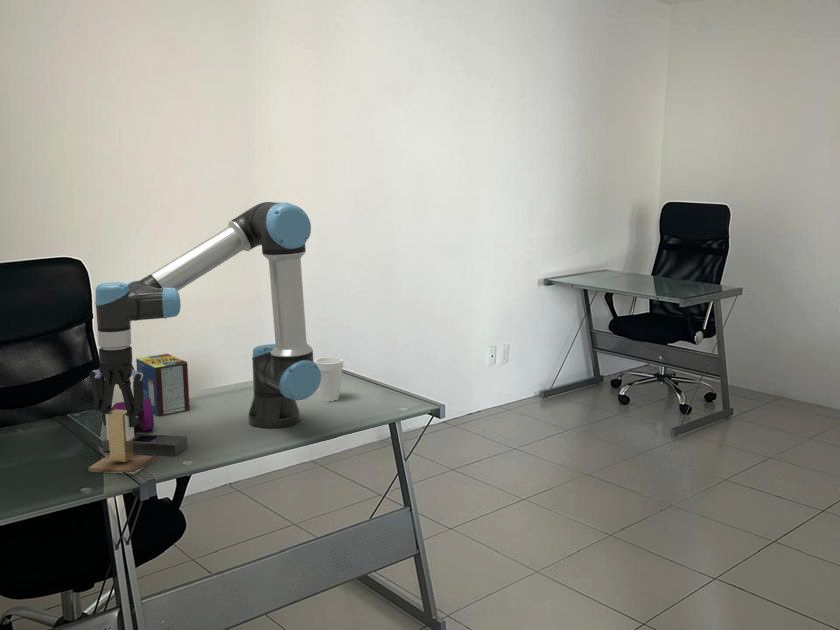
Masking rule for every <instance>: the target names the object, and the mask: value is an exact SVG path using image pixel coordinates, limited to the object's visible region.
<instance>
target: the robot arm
mask: <svg viewBox="0 0 840 630" xmlns="http://www.w3.org/2000/svg"><path fill="white" fill-rule="evenodd" d="M311 233H312V225H311V220H310V218H309V216H308V214H307V212H306V211H305V210H304V209H302V208H301V207H300V206H298V205H295V204H293V203H289V202H273V201H264V202H260V203H257V204H255V205H254V206H252V207H251V208H248V209H247V210H245V211H244V212H242V213H241V214H239V215H238V216H236V217H235V218H233V219H231V220H229V222H228V223H227V227H226V228H224V229H222V230H221V231H219V232H218V233H216V234H214V235H212V236H210V237H209V238H207V239H205V240H204V241H202V242H200V243H199V244H197V245H196V246H194V247H193V248H191V249H190V250H187V251H186V252H185V253H183V254H181V255H180V256H178V257H176V258H175V259H173V260H171V261H170V262H168V263H166V264H165V265H163V266H162V267H159V268H158V269H157V270H155V271H153V272H152V273H150V274H149V275H147V276H144V278H141V279H139V280H134V281H131V282H128V283H125V282H119V281H117V282H114V281H113V282H111V281H110V282H103V283H99V284H98V285H97V286H95V301H94V304H95V310H96V324H97V325H96V326H97V327H96V328H97V344H98V347H99V348H98V359H99V361H98V362H99V363H100V366H99V368H98V369H94V370H91V371H89V372H88V374H89V375H88V376H89V377H90V380H91V386H92V397H93V406H94V407H93V408H94V410H95V411H96V412H98V411H99V412H101V414H102V424H103V426H105V427H106V428H105V430H106V439H107V440H109V435H108V420H107V414H108V413H110V410H112V409H113V408H112V407H113V399H114V394H115V393H114V392H115V386H116V385H118V388H119V389H120V391H121V395H122V398H123V402H124V403H125V406H126V410H127V414H126V415H124V417H125V434H126V441H130V440H131V439H133V438H134V433H135V427H136V426H137V416H136V413H138V412H140V411H142V410H143V379H144V376H145V373H144V372H137V370H135V368H134V366H133V347H132V346H131V344H132V331H131V329H132V327H131V322H133V321H134V322H136V321H143V320H144V321H147V320H155V319H156V320H157V319H158V320H159V319H164V320H165V319H168V318H176V317H177V316H178V315H179V314H180V312H181V307H182V306H181V298H180V294H179V291H180V290H182V289H183V288H185V287H186V286H188V285H190V284H192V283H193V282H195V281H196V280H198V279H199V278H201V277H203V276H204V275H206V274H207V273H209V272H210V271H212V270H214V269H215V268H217V267H218V266H220V265H221V264H224V263H225V262H227V261H228V260H230V259H231V258H233V257H234V256H236V255H237V254H239V253H241V252H243V251H245V252H250V251H251V250H253V249H255V248H257V247H259V246H261V252H262V253H261V254H262V256H263V257H264V258H266V259H267V261H268V267H269V268H268V269H269V282H270V292H271V293H270V294H271V295H270V296H271V303H272V304H271V305H272V315H273V316H272V317H273V319H272V320H273V328H274V329H273V331H274V341H275V342H274V343H269V344H268V343H267V344H262V345H257V346H255V347H254V348H253V349H252V357H251V360H252V381H253V382H252V383H253V397H252V401H251V404H250V407H249V410H248V414H247V417H248V418H247V419H248V421H247V422H248V423H249V424H250V426H253V427H259V428H266V429H269V428H270V429H272V428H273V429H275V428H285V427H290V426H292V425H295V424H297V423H299V421H300V420H301V412H300V409H299V407H298V402H297V401H303V400H307V399H308V398H310V397H312V396H313V395H314V394H315V392H316V391H318V387H319V385H320V382H321V372H320V369H319V367H318V366H317V365H316V364H315V363H314V350H313V347H312V346H311V345H309V344H308V340H307V330H306V329H307V328H306V316H305V301H304V287H303V275H302V257H303V256H304V255H305V254H306V252H307V251H306V243H307V242H308V239H309V238H310V236H311ZM102 377H103V378H102ZM131 377H132V379H130V378H131ZM102 379H104V382H103V380H102ZM131 380H132V382H133V383H131ZM103 383H104V384H103ZM103 387H104V389H103ZM132 389H133V391H132ZM111 408H112V409H111ZM111 412H112V411H111Z"/></svg>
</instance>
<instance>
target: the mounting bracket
mask: <svg viewBox="0 0 840 630" xmlns="http://www.w3.org/2000/svg"><path fill="white" fill-rule="evenodd" d="M112 408H113V409H112ZM111 409H112V410H110V412H111V411H114V410H126V406H125V403H124V401H121V402H115V403H114V404H112V406H111ZM136 417H137V418H138V425H139V428H140V430H141V431H142V432H147V431H153V429H154V425H155V423H154V422H155V421H154V420H155V418H154V414H153V410H152V405H151V399H150V398H147V399H143V410H142V411H140V412H138V413H136Z"/></svg>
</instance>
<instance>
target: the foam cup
mask: <svg viewBox="0 0 840 630" xmlns="http://www.w3.org/2000/svg"><path fill="white" fill-rule="evenodd" d="M313 361H314V363H315V364H316V365H317V366H318V367H319V369H320V372H321V382H320V385H319V387H318V389H317V395H318V400H319V399H320V400H321V401H320V400H319V401H320V402H323V401H333V402H335V401H334V400H337V399H338V398H340V390H341V385H342V384H341V382H342V374H343V369H344V359H342V358H340V357H335V356H332V357H331V356H326V357H325V356H324V357H323V356H322V357H318V358H316V359H313ZM338 400H339V399H338ZM338 400H337V401H338Z"/></svg>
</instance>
